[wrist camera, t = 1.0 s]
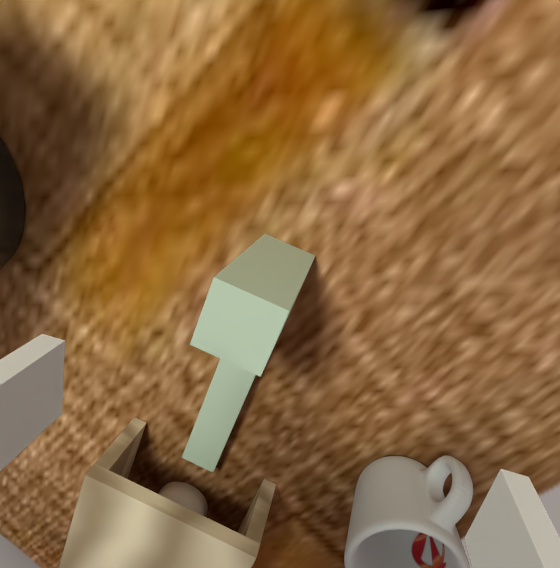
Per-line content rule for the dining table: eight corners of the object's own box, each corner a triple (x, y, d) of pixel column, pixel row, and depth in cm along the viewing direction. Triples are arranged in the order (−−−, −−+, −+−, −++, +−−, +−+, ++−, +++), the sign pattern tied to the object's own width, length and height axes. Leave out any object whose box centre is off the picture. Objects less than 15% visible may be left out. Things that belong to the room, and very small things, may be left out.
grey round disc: (153, 508, 42) (141, 528, 39) (167, 472, 40) (155, 491, 37) (199, 530, 41) (189, 552, 39) (215, 495, 39) (206, 516, 37)
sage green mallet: (183, 444, 38) (115, 554, 28) (264, 233, 31) (213, 277, 20) (223, 463, 38) (170, 581, 28) (315, 255, 30) (289, 311, 20)
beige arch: (105, 507, 42) (56, 574, 36) (134, 416, 38) (85, 474, 31) (232, 569, 42) (206, 650, 35) (276, 484, 37) (256, 558, 31)
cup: (408, 400, 33) (421, 475, 25) (494, 456, 33) (533, 548, 25) (330, 485, 36) (320, 572, 29) (407, 535, 36) (417, 636, 29)
